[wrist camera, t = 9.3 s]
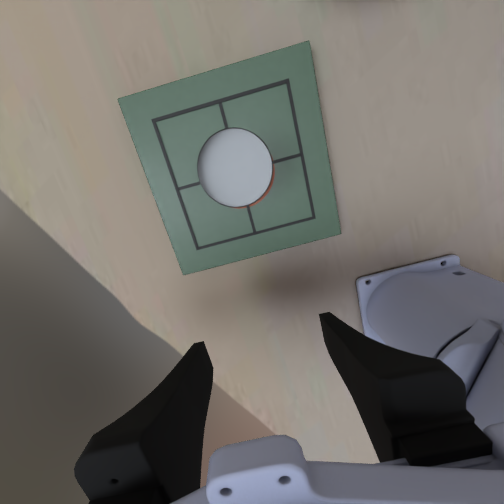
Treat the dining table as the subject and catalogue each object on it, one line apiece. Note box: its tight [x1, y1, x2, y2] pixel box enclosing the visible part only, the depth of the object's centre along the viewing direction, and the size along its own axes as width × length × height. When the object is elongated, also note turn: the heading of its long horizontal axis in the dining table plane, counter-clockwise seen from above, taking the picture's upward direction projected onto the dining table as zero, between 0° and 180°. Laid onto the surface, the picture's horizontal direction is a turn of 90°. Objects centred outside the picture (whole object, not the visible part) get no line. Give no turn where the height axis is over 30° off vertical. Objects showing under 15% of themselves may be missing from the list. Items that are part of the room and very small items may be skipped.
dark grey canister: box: [197, 127, 273, 208], centre depth 16 cm, size 4×4×5 cm
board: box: [118, 41, 341, 275], centre depth 20 cm, size 14×14×2 cm
